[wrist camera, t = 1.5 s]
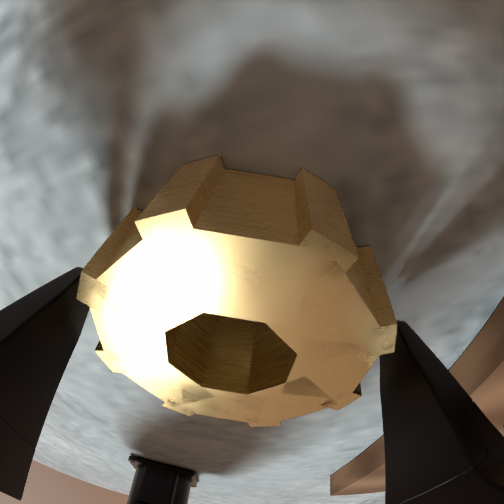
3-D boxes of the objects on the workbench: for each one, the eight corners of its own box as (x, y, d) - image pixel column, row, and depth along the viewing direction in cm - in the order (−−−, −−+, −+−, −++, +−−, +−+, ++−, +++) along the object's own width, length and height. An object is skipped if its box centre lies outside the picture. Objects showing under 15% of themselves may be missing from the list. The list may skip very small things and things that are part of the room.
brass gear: (326, 366, 12) (329, 433, 9) (139, 334, 12) (114, 396, 9) (402, 190, 7) (451, 256, 5) (120, 145, 7) (51, 191, 5)
